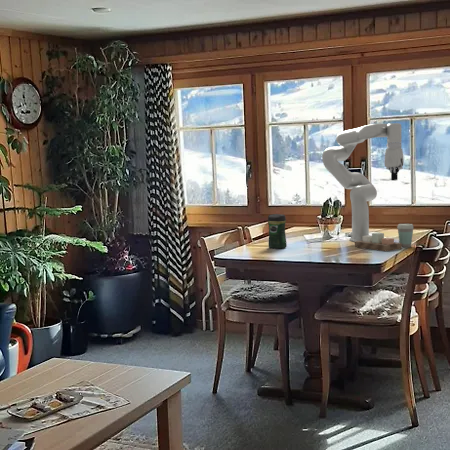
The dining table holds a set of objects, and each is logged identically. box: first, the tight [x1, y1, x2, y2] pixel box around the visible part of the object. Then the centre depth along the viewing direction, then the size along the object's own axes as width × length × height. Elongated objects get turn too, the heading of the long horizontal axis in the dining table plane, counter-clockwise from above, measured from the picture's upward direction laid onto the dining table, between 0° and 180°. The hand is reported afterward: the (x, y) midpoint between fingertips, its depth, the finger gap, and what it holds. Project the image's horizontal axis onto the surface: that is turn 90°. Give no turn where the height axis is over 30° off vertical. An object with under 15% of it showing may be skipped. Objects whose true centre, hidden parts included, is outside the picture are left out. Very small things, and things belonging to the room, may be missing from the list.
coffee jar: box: [267, 213, 287, 250], centre depth 366 cm, size 10×8×19 cm
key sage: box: [371, 232, 385, 243], centre depth 356 cm, size 4×4×5 cm
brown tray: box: [354, 240, 403, 252], centre depth 356 cm, size 22×12×3 cm, turn 33°
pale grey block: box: [362, 234, 372, 242], centre depth 362 cm, size 4×4×5 cm
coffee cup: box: [396, 223, 414, 249], centre depth 357 cm, size 8×8×12 cm
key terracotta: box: [382, 237, 395, 245], centre depth 350 cm, size 4×4×5 cm
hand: (394, 180), depth 365 cm, fingers closed
